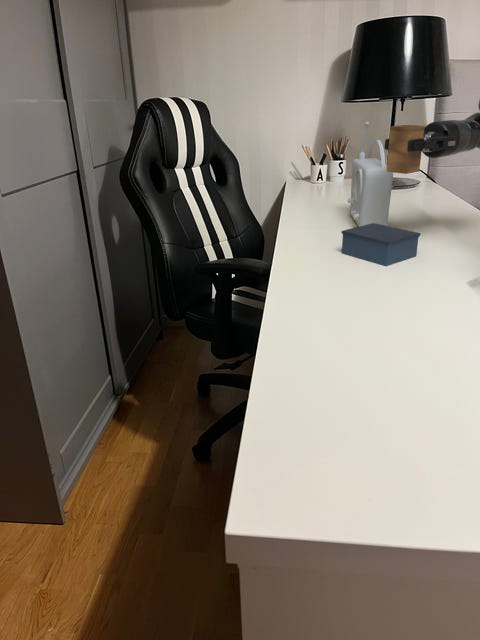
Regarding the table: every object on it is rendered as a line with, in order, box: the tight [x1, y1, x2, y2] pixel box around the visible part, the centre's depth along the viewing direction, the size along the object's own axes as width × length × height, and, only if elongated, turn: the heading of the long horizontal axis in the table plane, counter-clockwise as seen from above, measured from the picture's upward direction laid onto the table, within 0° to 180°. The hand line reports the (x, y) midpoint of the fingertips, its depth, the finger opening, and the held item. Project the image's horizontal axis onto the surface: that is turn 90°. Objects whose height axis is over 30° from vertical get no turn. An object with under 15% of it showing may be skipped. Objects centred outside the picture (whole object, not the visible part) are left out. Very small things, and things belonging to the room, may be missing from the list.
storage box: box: [341, 223, 421, 267], centre depth 107 cm, size 12×10×5 cm
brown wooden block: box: [386, 124, 426, 175], centre depth 104 cm, size 5×5×9 cm
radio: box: [347, 121, 394, 227], centre depth 129 cm, size 22×8×25 cm, turn 177°
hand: (397, 145), depth 102 cm, fingers closed on brown wooden block, 5 cm apart
